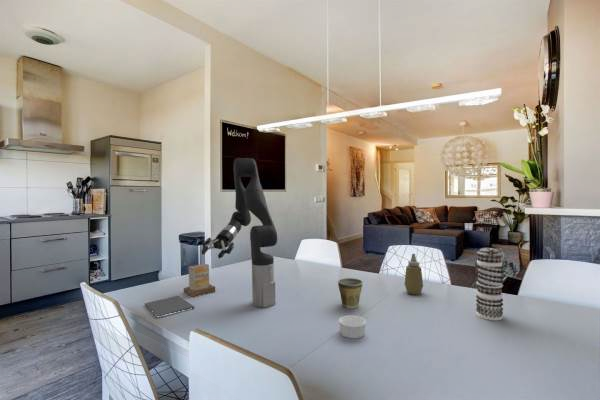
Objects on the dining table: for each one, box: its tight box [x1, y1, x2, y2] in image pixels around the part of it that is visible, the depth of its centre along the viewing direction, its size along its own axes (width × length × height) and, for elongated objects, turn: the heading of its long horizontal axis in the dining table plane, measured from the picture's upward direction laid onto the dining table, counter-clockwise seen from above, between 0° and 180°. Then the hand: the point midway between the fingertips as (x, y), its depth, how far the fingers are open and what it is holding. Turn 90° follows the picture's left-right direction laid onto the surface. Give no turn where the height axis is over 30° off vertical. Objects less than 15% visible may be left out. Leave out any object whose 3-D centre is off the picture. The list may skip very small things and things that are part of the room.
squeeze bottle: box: [404, 253, 424, 295], centre depth 140 cm, size 8×8×18 cm
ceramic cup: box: [337, 277, 363, 309], centre depth 127 cm, size 13×10×10 cm
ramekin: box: [338, 315, 367, 339], centre depth 101 cm, size 9×9×4 cm
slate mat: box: [144, 295, 195, 316], centre depth 127 cm, size 18×14×1 cm
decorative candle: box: [474, 247, 505, 321], centre depth 113 cm, size 9×9×25 cm
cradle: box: [183, 283, 216, 298], centre depth 145 cm, size 9×12×2 cm
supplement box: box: [188, 263, 210, 291], centre depth 145 cm, size 8×5×13 cm, turn 143°
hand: (210, 255), depth 142 cm, fingers open, 8 cm apart
